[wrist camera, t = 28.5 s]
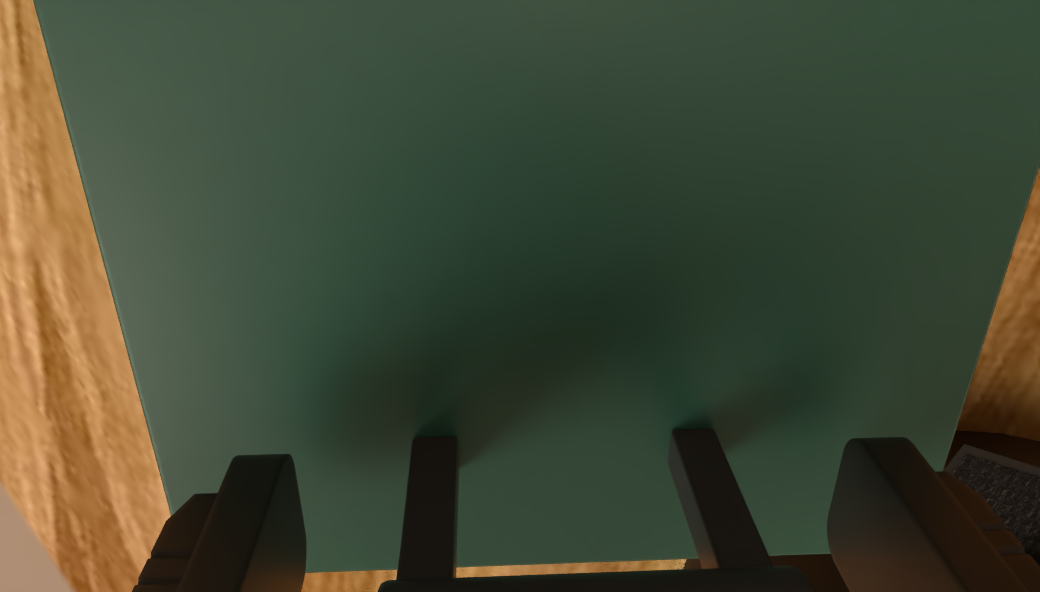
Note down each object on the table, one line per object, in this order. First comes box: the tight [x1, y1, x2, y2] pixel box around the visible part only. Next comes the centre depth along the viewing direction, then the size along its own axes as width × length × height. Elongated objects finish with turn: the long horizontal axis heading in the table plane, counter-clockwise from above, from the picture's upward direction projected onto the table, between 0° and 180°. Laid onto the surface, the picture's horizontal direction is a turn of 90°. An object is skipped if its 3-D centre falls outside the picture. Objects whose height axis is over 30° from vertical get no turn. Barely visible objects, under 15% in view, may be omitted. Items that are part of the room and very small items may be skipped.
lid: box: [33, 0, 1040, 592], centre depth 8 cm, size 16×13×5 cm
